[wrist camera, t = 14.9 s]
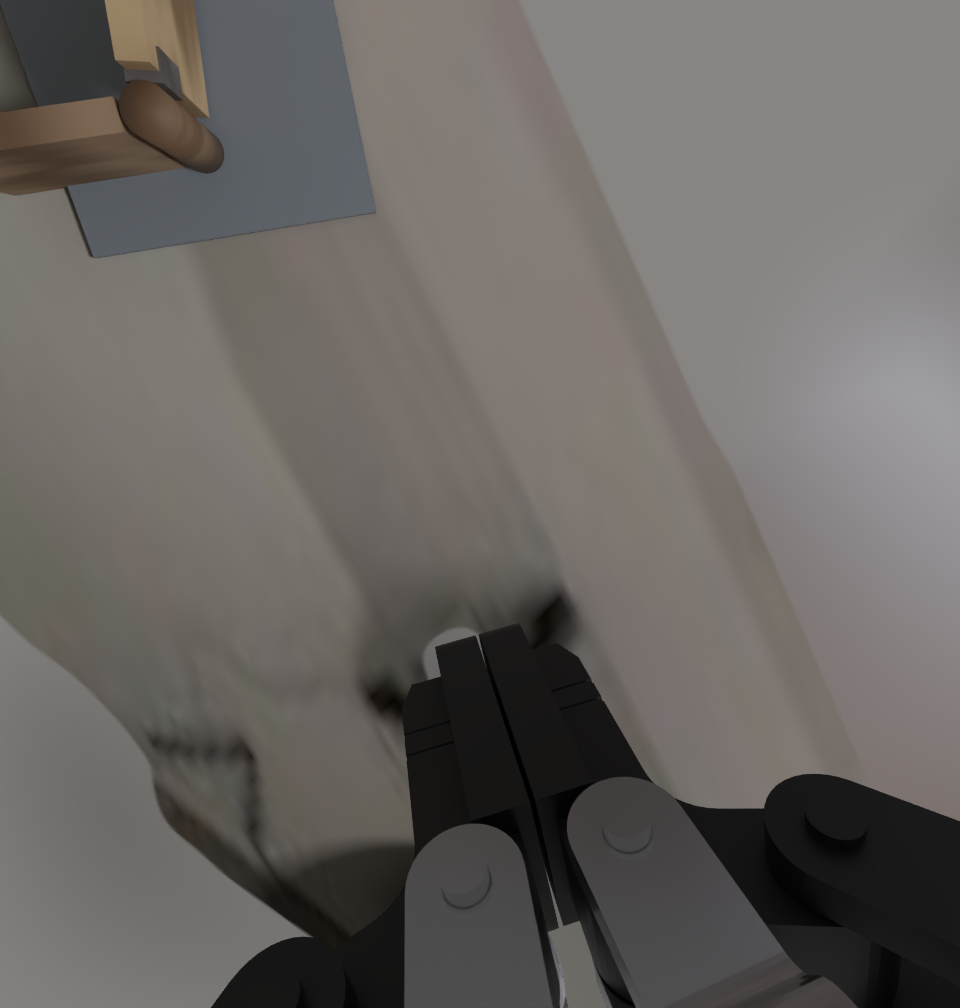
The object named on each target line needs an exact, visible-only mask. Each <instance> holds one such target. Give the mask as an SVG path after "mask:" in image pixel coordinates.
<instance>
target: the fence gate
mask: <svg viewBox="0 0 960 1008" xmlns="http://www.w3.org/2000/svg"><path fill="white" fill-rule="evenodd" d="M105 5H106V11H107V17H108V22H109V28H110V34H111V39H112V45H113V51H114V57H115V60H116V61H117V62H118V63H119V64H120V65H122V66H123V70H124V75H125V81H126V82H127V83H130V82H132V81H135V80H146V81H150V82H152V83H154V84H156V85H158V86H159V87H160V88H161V89H163V90H164V91H165V92H166V93H167V94H168V95H169V96H171V97H172V98H173V99H174V100H175V101H176V102H177V103H179V104H180V105H181V106H182V107H183V108H184V109H186V110H187V111H188V112H189V113H190V114H191V115H192V116H194V117H195V118H209V111H208V103H207V96H206V88H205V81H204V73H203V66H202V58H201V51H200V43H199V36H198V28H197V21H196V13H195V6H194V0H105Z"/></svg>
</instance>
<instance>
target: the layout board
mask: <svg viewBox="0 0 960 1008" xmlns="http://www.w3.org/2000/svg"><path fill="white" fill-rule="evenodd" d="M0 5H1V8H2V11H3V14H4V16H5V19H6V22H7V24H8V27H9V30H10V33H11V35H12V38H13V41H14V43H15V46H16V49H17V51H18V54H19V57H20V60H21V62H22V65H23V68H24V70H25V73H26V76H27V79H28V81H29V84H30V87H31V89H32V92H33V95H34V98H35V100H36V103H37V106H38V107H41V106H48V105H55V104H62V103H69V102H76V101H83V100H90V99H97V98H104V97H111V96H112V97H114V98H115V99H117V100H118V101H119V97H120V94H121V91H122V90H123V88H124V87H125V86H126V85H127V84H128V83H127V82H126V81H125V75H124V70H123V66H122V65H120V64H119V63H118V62H117V61H116V60H115V57H114V51H113V45H112V39H111V34H110V28H109V22H108V17H107V11H106V5H105V0H0ZM194 6H195V13H196V21H197V28H198V36H199V43H200V51H201V58H202V66H203V73H204V81H205V88H206V96H207V103H208V111H209V118H196V119H197V120H198V121H199V122H200V123H202V124H203V125H204V126H205V127H206V128H207V129H208V130H210V131H211V132H212V133H213V134H214V135H215V136H216V137H217V138H218V139H219V140H220V142H221V144H222V146H223V149H224V161H223V164H222V166H221V167H220V168H219V169H218V170H217V171H215V172H213V173H209V174H205V173H201V172H198V171H196V170H195V169H193V168H191V167H190V166H188V165H186V164H185V163H184V164H185V167H186V168H183V169H176V170H170V171H163V172H157V173H150V174H143V175H137V176H130V177H124V178H117V179H111V180H104V181H98V182H91V183H85V184H78V185H72V186H67V187H68V190H69V192H70V195H71V198H72V201H73V203H74V206H75V209H76V211H77V214H78V217H79V219H80V222H81V225H82V228H83V230H84V233H85V236H86V238H87V241H88V244H89V247H90V249H91V252H92V255H93V257H94V258H101V257H107V256H113V255H119V254H126V253H132V252H138V251H144V250H150V249H156V248H162V247H169V246H175V245H181V244H187V243H193V242H199V241H205V240H211V239H218V238H224V237H230V236H236V235H242V234H248V233H254V232H261V231H267V230H273V229H279V228H285V227H291V226H297V225H304V224H310V223H316V222H322V221H328V220H334V219H340V218H347V217H353V216H359V215H365V214H371V213H376V210H375V205H374V200H373V195H372V190H371V185H370V180H369V175H368V171H367V166H366V161H365V156H364V151H363V146H362V141H361V136H360V131H359V126H358V121H357V116H356V111H355V106H354V101H353V96H352V92H351V87H350V82H349V77H348V72H347V67H346V62H345V57H344V52H343V47H342V42H341V37H340V32H339V27H338V22H337V18H336V13H335V8H334V3H333V0H194Z"/></svg>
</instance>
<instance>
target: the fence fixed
mask: <svg viewBox="0 0 960 1008" xmlns="http://www.w3.org/2000/svg"><path fill="white" fill-rule="evenodd" d="M223 161H224V149H223V146H222V144H221V142H220V140H219V139H218V138H217V137H216V136H215V135H214V134H213V133H212V132H211V131H210V130H208V129H207V128H206V127H205V126H204V125H203V124H202V123H200V122H199V121H198V120H197V119H196V118H195V117H194V116H192V115H191V114H190V113H189V112H188V111H187V110H186V109H184V108H183V107H182V106H181V105H180V104H179V103H177V102H176V101H175V100H174V99H173V98H172V97H171V96H169V95H168V94H167V93H166V92H165V91H164V90H163V89H161V88H160V87H159V86H158V85H156V84H154V83H152V82H150V81H146V80H135V81H132V82H130V83H128V84H127V85H126V86H125V87H124V88H123V90H122V91H121V94H120V97H119V101H118V100H117V99H115V98H114V97H112V96H111V97H104V98H97V99H90V100H83V101H76V102H69V103H62V104H55V105H48V106H41V107H34V108H27V109H20V110H13V111H6V112H0V192H3V193H7V194H11V195H22V194H28V193H35V192H41V191H48V190H54V189H61V188H67V186H72V185H78V184H85V183H91V182H98V181H104V180H111V179H117V178H124V177H130V176H137V175H143V174H150V173H157V172H163V171H170V170H176V169H183V168H186V167H185V164H186V165H188V166H190V167H191V168H193V169H195V170H196V171H198V172H201V173H205V174H209V173H213V172H215V171H217V170H218V169H219V168H220V167H221V166H222V164H223ZM184 163H185V164H184Z"/></svg>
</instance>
